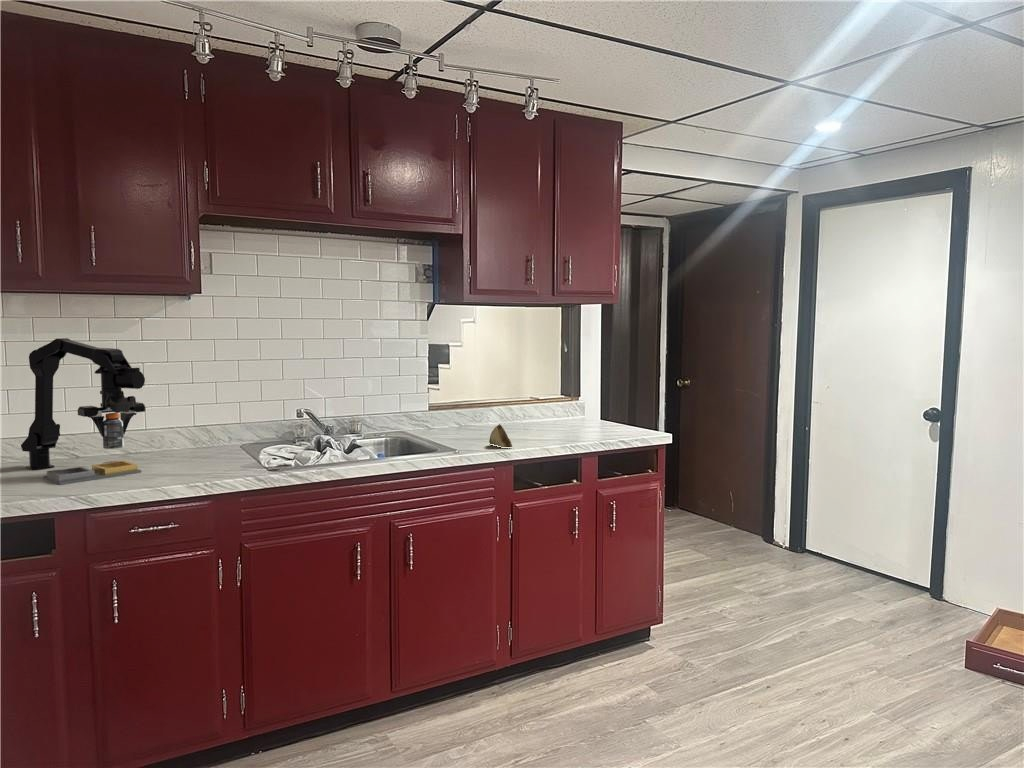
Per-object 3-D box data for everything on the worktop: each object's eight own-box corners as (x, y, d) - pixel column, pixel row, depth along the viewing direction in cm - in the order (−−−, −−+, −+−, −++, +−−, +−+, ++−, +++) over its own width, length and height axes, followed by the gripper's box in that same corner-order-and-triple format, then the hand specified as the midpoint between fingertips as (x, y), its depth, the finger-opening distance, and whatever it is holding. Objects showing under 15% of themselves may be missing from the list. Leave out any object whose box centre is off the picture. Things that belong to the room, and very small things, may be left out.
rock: (482, 439, 293) (486, 440, 283) (494, 422, 294) (498, 422, 284) (503, 455, 294) (508, 456, 284) (515, 438, 295) (520, 438, 286)
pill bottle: (127, 446, 238) (126, 412, 237) (118, 449, 232) (117, 414, 231) (109, 446, 238) (108, 412, 237) (99, 449, 232) (98, 414, 231)
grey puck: (97, 468, 243) (97, 463, 243) (116, 464, 250) (116, 460, 250) (111, 469, 240) (111, 464, 240) (130, 465, 247) (130, 461, 247)
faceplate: (43, 478, 225) (43, 470, 225) (123, 467, 244) (123, 459, 244) (59, 485, 217) (59, 476, 217) (141, 472, 236) (141, 464, 236)
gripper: (90, 391, 221) (92, 442, 222) (152, 387, 235) (153, 435, 237) (76, 389, 228) (77, 437, 229) (136, 385, 242) (138, 431, 244)
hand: (113, 435), depth 235 cm, fingers closed on pill bottle, 6 cm apart
